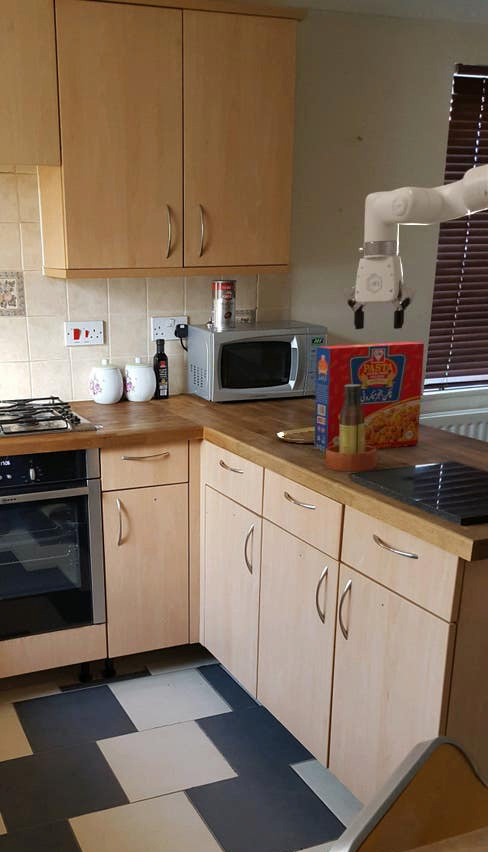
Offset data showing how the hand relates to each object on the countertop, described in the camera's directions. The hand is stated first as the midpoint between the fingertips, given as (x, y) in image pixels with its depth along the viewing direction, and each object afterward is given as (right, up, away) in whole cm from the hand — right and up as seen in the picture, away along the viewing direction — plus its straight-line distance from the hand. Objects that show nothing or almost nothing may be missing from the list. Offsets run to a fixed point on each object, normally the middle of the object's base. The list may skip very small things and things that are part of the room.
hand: (378, 328), depth 205 cm
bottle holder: (-3, -30, +18) cm, 35 cm away
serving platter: (0, -16, +60) cm, 62 cm away
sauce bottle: (-3, -30, +18) cm, 35 cm away
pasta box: (+7, -22, +42) cm, 48 cm away
